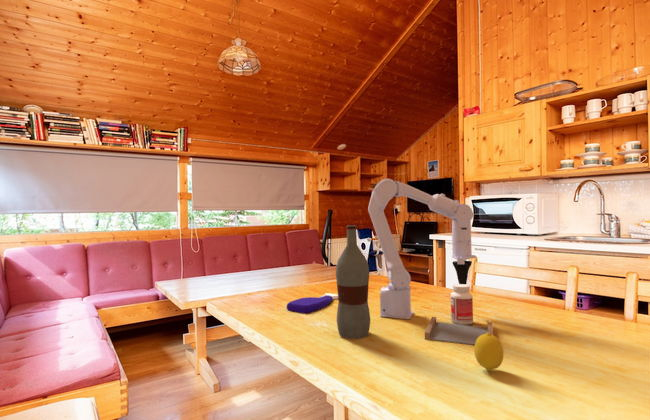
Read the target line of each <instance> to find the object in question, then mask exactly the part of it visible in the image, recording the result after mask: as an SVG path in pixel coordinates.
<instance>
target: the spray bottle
mask: <svg viewBox="0 0 650 420" xmlns="http://www.w3.org/2000/svg"><path fill="white" fill-rule="evenodd" d="M333 300H338V294H336V293H330V292H329V293H327V292H326V293H323V295H319V297H316V296H312V297H311V296H309V297H308V296H307V297H301V298H298V299H294V300H291V301H289V302H288V303H287V304H286V310H287V311H289V312H295V313H301V314H310V313H313V312H316V311H319V310H321V309H324V308H325V307H328V306H329V304H330V303H331V302H332V301H333Z"/></svg>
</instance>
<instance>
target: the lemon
mask: <svg viewBox="0 0 650 420" xmlns="http://www.w3.org/2000/svg"><path fill="white" fill-rule="evenodd" d="M473 349H474V350H473V351H474V357H475V359H476V362H477V363H478V364H479V366H481V367H483V368H484V369H485V370H487V371H488V372H492V371H493V370H496V369H497V368H500V366H501V365H502V364H503V360H504V349H503V345H502V343H501V341H500V340H499V338H498V337H496V336H495V335H494V334H493V335H491V334H490V333H486V334H483V335H481V336H479V337H478V338H477V340H476V343H475V345H474V348H473Z"/></svg>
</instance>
